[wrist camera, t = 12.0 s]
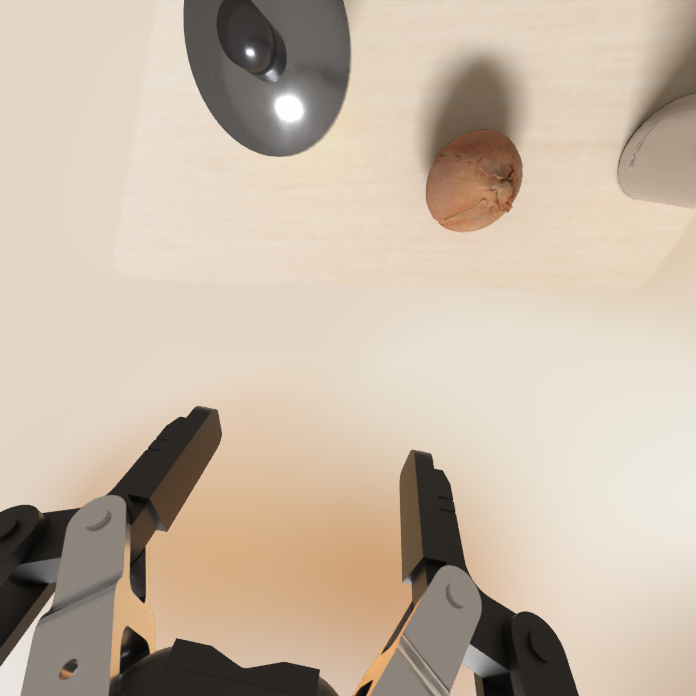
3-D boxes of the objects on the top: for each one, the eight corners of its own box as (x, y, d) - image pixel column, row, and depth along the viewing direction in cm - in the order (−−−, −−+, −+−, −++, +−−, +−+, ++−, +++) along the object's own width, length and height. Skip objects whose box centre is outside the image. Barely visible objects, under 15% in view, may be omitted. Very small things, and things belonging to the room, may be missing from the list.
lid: (364, -64, 18) (356, -137, 14) (340, 167, 26) (330, 169, 21) (175, -93, 19) (106, -174, 14) (205, 144, 26) (166, 140, 22)
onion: (488, 175, 35) (562, 181, 27) (437, 238, 38) (491, 260, 30) (451, 108, 30) (530, 93, 22) (393, 188, 32) (446, 199, 24)
